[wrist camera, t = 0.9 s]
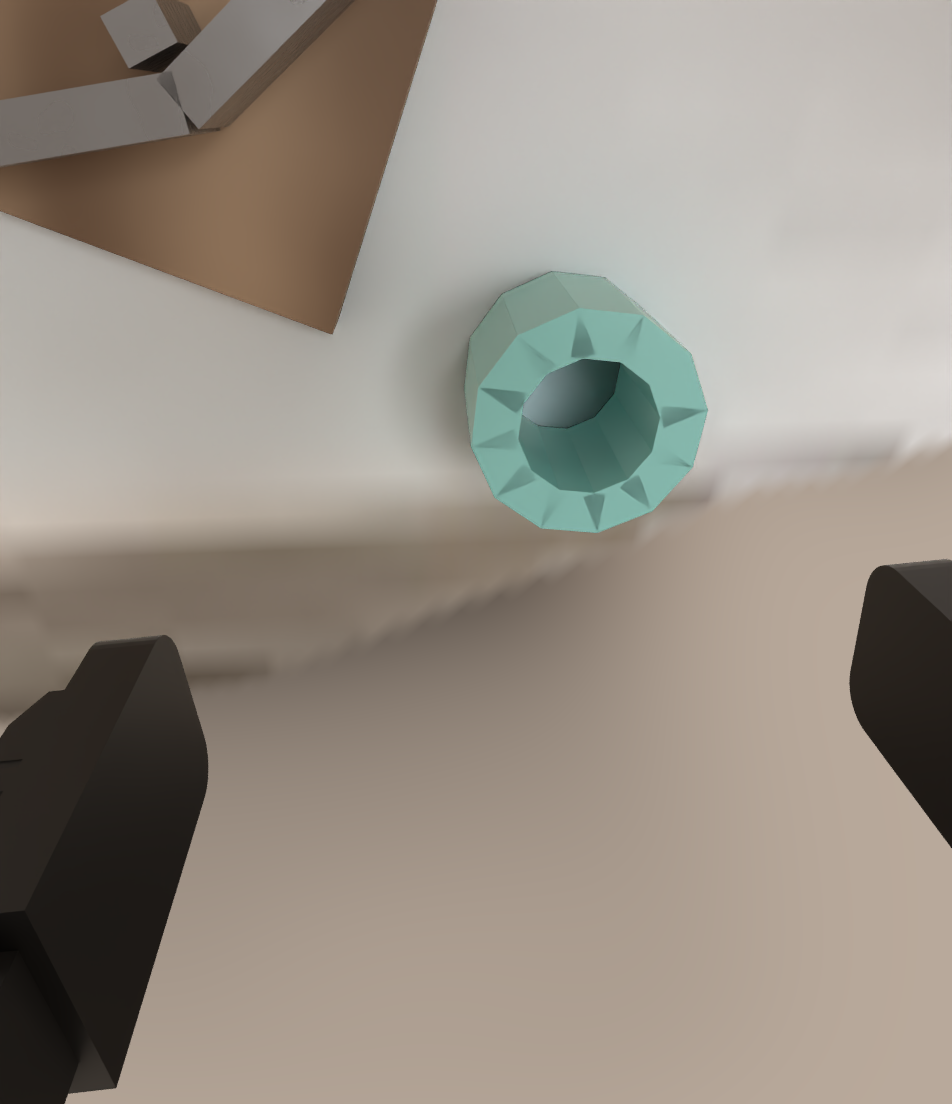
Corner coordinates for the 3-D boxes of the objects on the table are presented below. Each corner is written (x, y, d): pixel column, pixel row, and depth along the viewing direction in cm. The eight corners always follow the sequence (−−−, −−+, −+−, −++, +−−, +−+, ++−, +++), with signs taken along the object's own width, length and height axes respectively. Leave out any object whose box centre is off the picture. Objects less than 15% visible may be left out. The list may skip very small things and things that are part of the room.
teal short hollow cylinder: (676, 285, 24) (730, 324, 20) (634, 469, 27) (673, 538, 23) (478, 262, 24) (488, 298, 19) (456, 453, 26) (462, 521, 22)
